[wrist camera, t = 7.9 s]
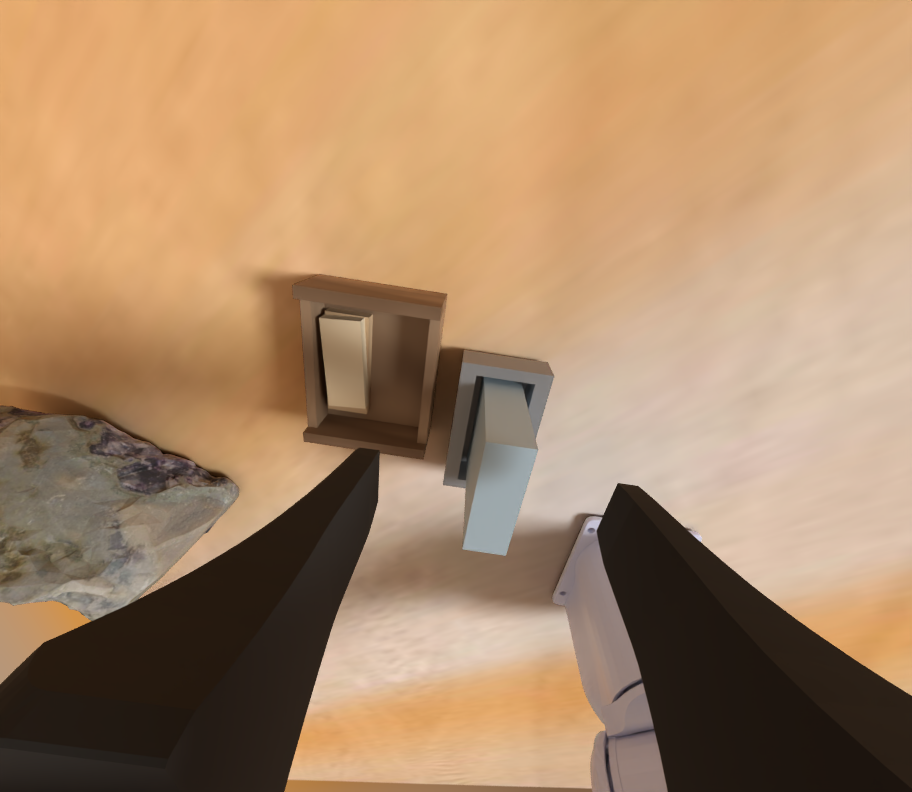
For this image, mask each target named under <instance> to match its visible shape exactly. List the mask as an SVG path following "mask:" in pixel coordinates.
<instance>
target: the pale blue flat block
mask: <svg viewBox="0 0 912 792" xmlns="http://www.w3.org/2000/svg"><path fill="white" fill-rule="evenodd" d="M537 452H538V447H537V443H536V439H535V435H534V431H533V427H532V423H531V419H530V415H529V411H528V407H527V402H526V398H525V394H524V390H523V386H522V382H516V381H509V380H503V379H496V378H489V377H482V383H481V388H480V393H479V398H478V404H477V409H476V414H475V419H474V424H473V430H472V435H471V440H470V445H469V450H468V456H467V474H466V493H465V512H464V531H463V549H464V550H470V551H477V552H484V553H491V554H497V555H504V556H506V554H507V550H508V547H509V544H510V540H511V537H512V534H513V531H514V527H515V524H516V521H517V517H518V514H519V511H520V508H521V504H522V501H523V498H524V494H525V491H526V488H527V485H528V481H529V478H530V475H531V471H532V468H533V465H534V462H535V458H536V455H537Z"/></svg>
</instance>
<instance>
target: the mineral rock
mask: <svg viewBox="0 0 912 792" xmlns="http://www.w3.org/2000/svg"><path fill="white" fill-rule="evenodd" d="M238 495H239V488H238V486H237V485H236V484H234V483H233V481H232V480H230V479H229V478H226V477H222V478H221V477H217V478H215V477H213V476H211V475H210V474H209V473H208V472H207V471H205V470H203V469H201V468H198V467H197V466H196V465H195V463H194V462H192V461H189V460H187V459H184V458H181V457H178V456H174V455H171V454H162V452H161V451H160V449H158V448H157V447H155V446H154V445H152V444H151V443H149V442H146V441H141V440H138V439H134V438H132V437H131V436H129V435H128V434H126V433H124V432H122V431H120V430H117V429H116V428H115V427H113V426H112V425H110V424H109V423H107V422H105V421H103V420H98V419H92V418H88V417H86V416H80V415H62V414H46V413H41V412H35V411H29V410H23V409H19V408H16V407H13V406H10V407H7V406H2V405H0V602H5V603H10V604H11V605H13V606H14V605H20V604H26V603H34V602H44V601H45V602H46V601H57V602H61V603H62V604H64V605H66V606H68V608H69V609H72V610H77V611H79V612H80V613H81V614H82V615H84V616H85V617H86V618H88V619H89V620H91V621H93V620H96V619H98V618H100V617H102V616H104V615H107V614H109V613H111V612H113V611H115V610H118V609H120V608H122V607H124V606H126V605H128V604H130V603H132V602H134V601H136V600H138V599H139V597H140V596H141V595H142V594H143V593H144V592H146V591H147V590H148V589H149V588H150V587H151V586H152V585H154V584H155V583H156V582H157V581H158V580H159V579H160V578H161V577H163V576H164V575H165V573H166V572H167V571H168V570H169V569H170V568H171V567H172V566H173V565H174V564H175V563H176V562H177V561H178V560H179V559H180V558H181V557H182V556H183V555H184V554H185V553H186V552H188V550H189V549H190V548H191V547H192V546H193V545H194V544H195V543H196V542H197V541H198V540H199V538H200V537H201V536H202V535H203V534H205V533H207V532H208V531H209V530H210V529H211V527H212V526H213V525H214V524H215V523H216V521H217V520H218V519H219V518H220V517H221V516H222V515H223V514H224V513H225V512H226V511H227V510H228V508H229V507H230V506H231V505H232V504H233V503H234V501H235V500H236V499H237V497H238Z"/></svg>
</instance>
